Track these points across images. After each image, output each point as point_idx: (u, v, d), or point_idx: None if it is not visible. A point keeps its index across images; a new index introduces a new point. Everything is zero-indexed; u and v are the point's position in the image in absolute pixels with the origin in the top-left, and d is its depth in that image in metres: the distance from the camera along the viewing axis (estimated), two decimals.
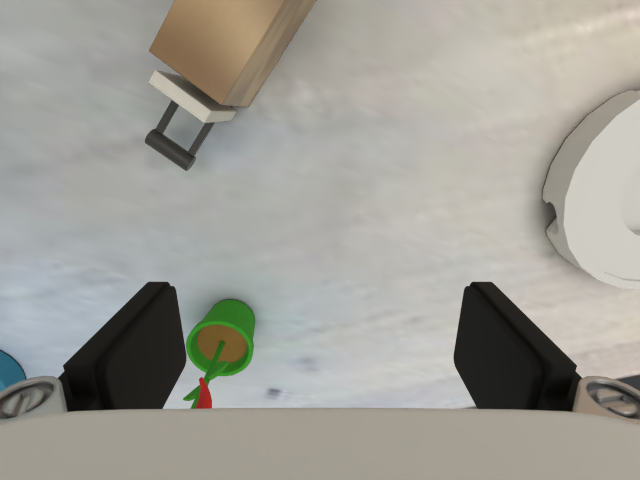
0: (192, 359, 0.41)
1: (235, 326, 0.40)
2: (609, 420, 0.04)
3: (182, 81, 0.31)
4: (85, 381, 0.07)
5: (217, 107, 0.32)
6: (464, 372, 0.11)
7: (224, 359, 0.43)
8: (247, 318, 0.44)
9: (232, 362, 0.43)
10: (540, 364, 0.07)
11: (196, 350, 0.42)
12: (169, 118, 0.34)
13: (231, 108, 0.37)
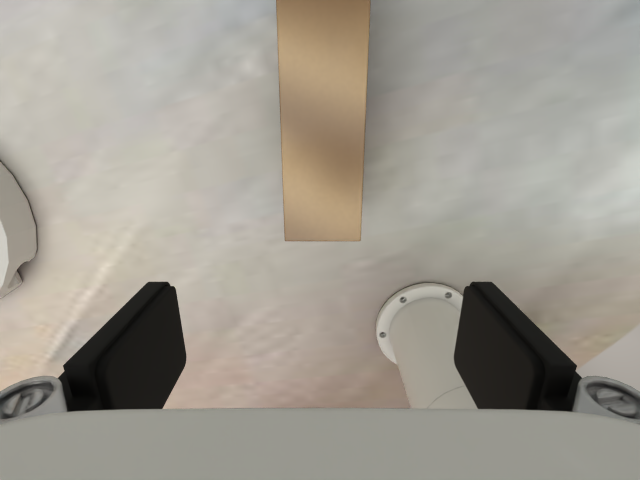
0: None
1: None
2: (609, 420, 0.04)
3: None
4: (85, 381, 0.07)
5: None
6: (464, 372, 0.11)
7: None
8: None
9: None
10: (540, 364, 0.07)
11: None
12: None
13: None
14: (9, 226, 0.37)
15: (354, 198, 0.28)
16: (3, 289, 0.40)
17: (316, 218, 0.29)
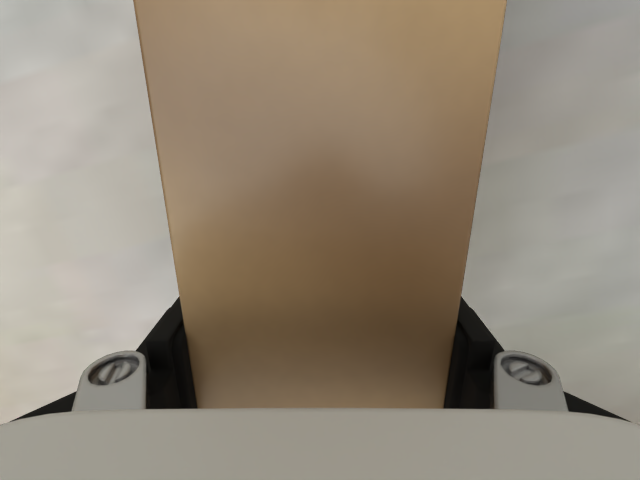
0: None
1: None
2: (609, 420, 0.04)
3: None
4: (164, 355, 0.08)
5: None
6: None
7: None
8: None
9: None
10: (464, 340, 0.08)
11: None
12: None
13: None
14: None
15: (421, 381, 0.09)
16: None
17: None
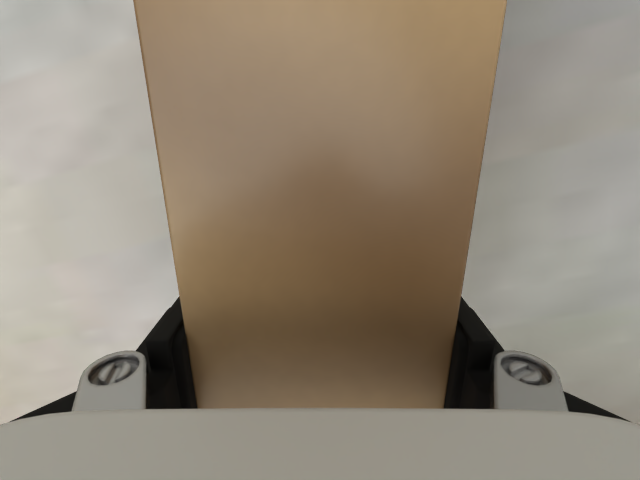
0: None
1: None
2: (609, 420, 0.04)
3: None
4: (164, 355, 0.08)
5: None
6: None
7: None
8: None
9: None
10: (465, 340, 0.08)
11: None
12: None
13: None
14: None
15: (421, 381, 0.09)
16: None
17: None
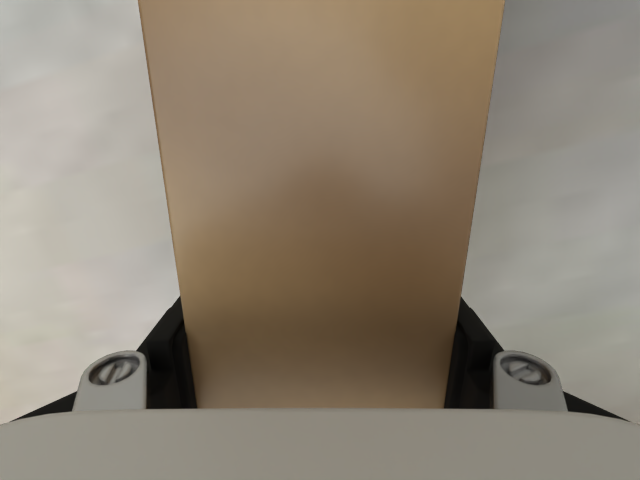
0: None
1: None
2: (609, 420, 0.04)
3: None
4: (164, 355, 0.08)
5: None
6: None
7: None
8: None
9: None
10: (464, 340, 0.08)
11: None
12: None
13: None
14: None
15: (422, 381, 0.09)
16: None
17: None
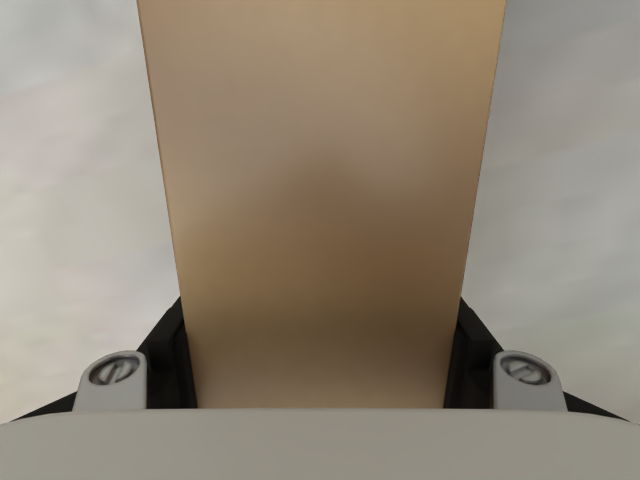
0: None
1: None
2: (609, 420, 0.04)
3: None
4: (164, 355, 0.08)
5: None
6: None
7: None
8: None
9: None
10: (464, 340, 0.08)
11: None
12: None
13: None
14: None
15: (421, 381, 0.09)
16: None
17: None
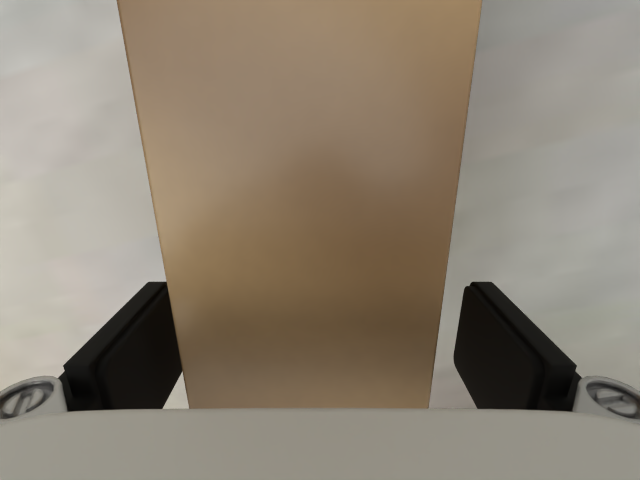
0: None
1: None
2: (609, 420, 0.04)
3: None
4: (85, 381, 0.07)
5: None
6: (464, 372, 0.11)
7: None
8: None
9: None
10: (540, 364, 0.07)
11: None
12: None
13: None
14: None
15: (410, 344, 0.09)
16: None
17: (288, 398, 0.09)
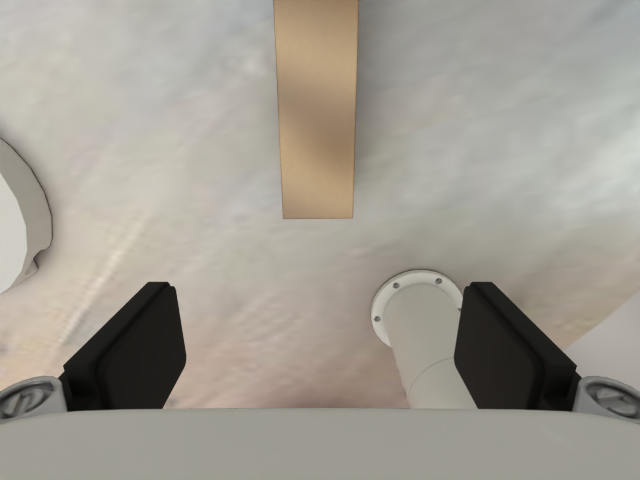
0: None
1: None
2: (609, 420, 0.04)
3: None
4: (85, 381, 0.07)
5: None
6: (464, 372, 0.11)
7: None
8: None
9: None
10: (540, 364, 0.07)
11: None
12: None
13: None
14: (28, 216, 0.40)
15: (346, 178, 0.31)
16: (21, 275, 0.43)
17: (311, 197, 0.31)
